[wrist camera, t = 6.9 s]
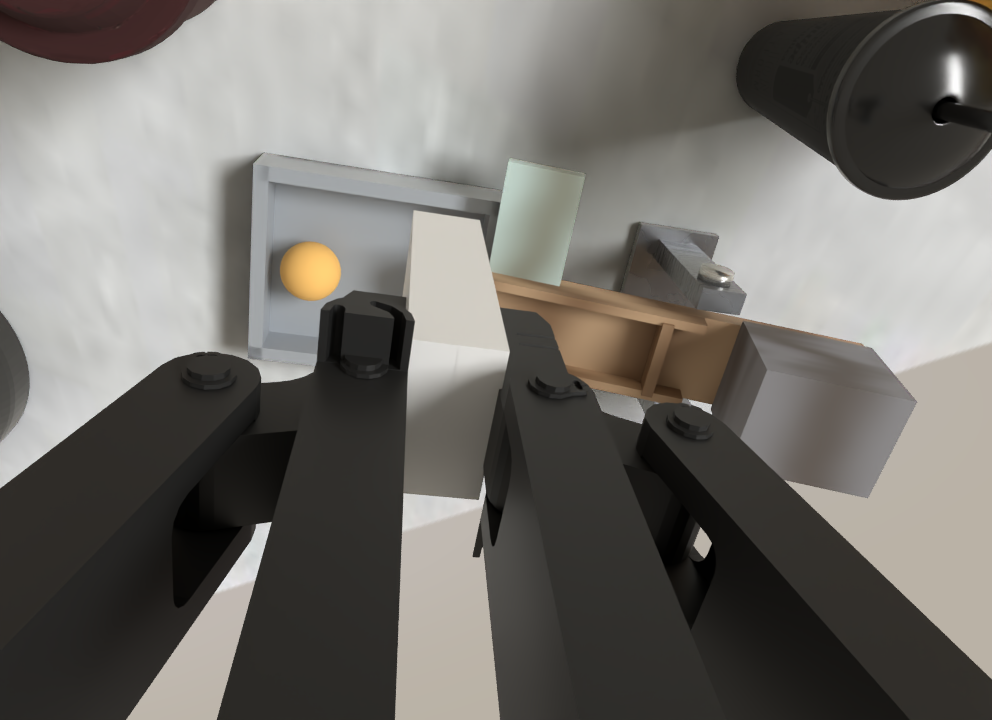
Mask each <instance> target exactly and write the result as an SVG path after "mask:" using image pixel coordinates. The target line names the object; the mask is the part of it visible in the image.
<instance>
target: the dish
mask: <svg viewBox="0 0 992 720" xmlns="http://www.w3.org/2000/svg"><path fill="white" fill-rule="evenodd" d="M502 193H503V192H502V190H497V189H490V188H484V187H478V186H471V185H465V184H459V183H452V182H446V181H440V180H433V179H427V178H421V177H414V176H408V175H402V174H395V173H389V172H383V171H377V170H370V169H364V168H358V167H351V166H345V165H339V164H332V163H326V162H320V161H313V160H307V159H301V158H294V157H288V156H282V155H275V154H269V153H263V154H262V155H261V156H260V157H259V158H258V159H257V160H256V161H255V163H254V164H253V191H252V227H251V263H250V299H249V335H248V358H250V359H259V360H268V361H277V362H285V363H294V364H303V365H312V366H315V365H316V362H317V350H318V337H319V324H320V311H321V308H322V307H323V306H324V305H325V304H326V303H327V302H330V301H332V300H335V299H337V298H343V297H344V296H346V295H347V294H349V293H350V292H352V291H353V290H356V291H364V292H371V293H379V294H387V295H394V296H403V288H404V280H405V273H406V265H407V257H408V250H409V242H410V234H411V227H412V219H413V211H414V210H416V211H422V212H429V213H436V214H442V215H449V216H456V217H462V218H469V219H475V220H480V223H481V228H482V232H483V236H484V241H485V245H486V250H487V254H488V258H489V263H490V258H491V253H492V247H493V242H494V236H495V231H496V226H497V220H498V215H499V209H500V204H501V198H502ZM308 241H311V242H318V243H321V244H323V245H325V246H327V247H328V248H329V249H331V250H332V251H333V252H334V254H335V255H336V257H337V258H338V260H339V263H340V267H341V277H340V281H339V284H338V286H337V287H336V289H335V290H334V291H333V292H332V293H331V294H330V295H329V296H327V297H325V298H323V299H321V300H316V301H306V300H302V299H299V298H297V297H295V296H294V295H292V294H291V293H290V292H289V291H288V290H287V289H286V288H285V286H284V284H283V282H282V280H281V276H280V265H281V261H282V258H283V256H284V255H285V253H286V252H287V251H288V250H289V249H290V248H291V247H293V246H294V245H296V244H298V243H301V242H308Z"/></svg>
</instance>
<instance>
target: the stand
mask: <svg viewBox="0 0 992 720" xmlns="http://www.w3.org/2000/svg"><path fill="white" fill-rule="evenodd" d="M718 239H719V236H718V235H716V234H713V233H707V232H700V231H694V230H688V229H681V228H675V227H668V226H662V225H656V224H649V223H643V222H639V225H638V229H637V233H636V236H635V240H634V243H633V247H632V251H631V254H630V258H629V262H628V265H627V269H626V273H625V276H624V280H623V283H622V287H621V291H620V293H625V294H630V295H634V296H639V297H644V298H648V299H653V300H658V301H663V302H667V303H672V304H677V305H681V306H686V307H691V308H696V309H697V310H705V311H712V312H719V313H727V314H734V315H740V312H741V309H742V306H743V304H744V301H745V298H746V295H747V294H746V293H745V292H744V291H743V290H742V289H741V288H740V287H739V286H738V285H737V284H736V283H735V282H734V281H733V278H734V275H735V273H734V272H733V271H732V270H730V269H728V268H726V267H723V266H720V265H717V264H715V263H714V262H713V261H712V257H713V254H714V251H715V248H716V245H717V242H718ZM637 399H638V401H639V403H640V405H641V407H642V409H643V411H644V413H646V410H647V409H648V408H650V407H651V406H652V405H654V404H659V403H658V402H654V401H649V400H644V399H640V398H637ZM682 403H685V404H689V406H691V404H690V402H689V400H688V399H685V398H683V401H682Z"/></svg>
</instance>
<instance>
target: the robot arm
mask: <svg viewBox="0 0 992 720" xmlns="http://www.w3.org/2000/svg"><path fill="white" fill-rule="evenodd" d="M28 395H29V371H28V365H27V361H26V357H25V354H24V351H23V348H22V346H21V344H20V341H19V339H18V337H17V336H16V334H15V332H14V330H13V329H12V327H11V325H10V324H9V322H8V321H7V320H6V318H5V317H4V315H3V314H2V313H1V312H0V442H1V441H2V440H3V439H4V438H5V437H6V436H7V435H8V434H9V432H10V431H11V430H12V429H13V428H14V427H15V425H16V424H17V423H18V421H19V419H20V418H21V416H22V414H23V412H24V410H25V407H26V404H27V400H28ZM483 477H485V485H486V496H485V501H484V505H483V510H482V515H481V519H480V524H479V529H478V533H477V538H476V543H475V547H474V552H473V557H480V553H481V549H482V547H483V549H484V559H485V570H486V580H487V589H488V600H489V609H490V620H491V630H492V639H493V640H492V641H493V651H494V661H495V671H496V680H497V691H498V701H499V711H500V720H992V679H991V678H990V677H989V676H988V675H987V674H986V673H984V672H983V671H982V670H981V669H980V668H979V667H978V666H977V665H976V664H975V663H974V662H973V661H972V660H971V659H970V658H969V657H968V656H967V655H966V654H965V653H964V652H963V651H961V650H960V649H959V648H958V647H957V646H956V645H955V644H954V643H953V642H952V641H951V640H950V639H949V638H948V637H947V636H946V635H945V634H944V633H943V632H942V631H941V630H940V629H939V628H938V627H937V626H935V625H934V624H933V623H932V622H931V621H930V620H929V619H928V618H927V617H926V616H925V615H924V614H923V613H922V612H921V611H920V610H919V609H918V608H917V607H916V606H915V605H914V604H912V603H911V602H910V601H909V600H908V599H907V598H906V597H905V596H904V595H903V594H902V593H901V592H900V591H899V590H898V589H897V588H896V587H895V586H894V585H893V584H892V583H891V582H890V581H888V580H887V579H886V578H885V577H884V576H883V575H882V574H881V573H880V572H879V571H878V570H877V569H876V568H875V567H874V566H873V565H872V564H871V563H870V562H869V561H868V560H867V559H866V558H864V557H863V556H862V555H861V554H860V553H859V552H858V551H857V550H856V549H855V548H854V547H853V546H852V545H851V544H850V543H849V542H848V541H847V540H846V539H845V538H843V536H841V535H840V534H839V533H838V532H837V531H836V530H835V529H834V528H833V527H832V526H831V525H830V524H829V523H828V522H827V521H826V520H825V519H824V518H823V517H822V516H821V515H820V514H819V513H817V512H816V511H815V510H814V509H813V508H812V507H811V506H810V505H809V504H808V503H807V502H806V501H805V500H804V499H803V498H802V497H801V496H800V495H799V494H798V493H797V492H796V491H794V490H793V489H792V488H791V487H790V486H789V485H788V484H787V483H786V482H785V481H784V480H783V479H782V478H781V477H780V476H779V475H778V474H777V473H776V472H775V471H774V470H773V469H772V468H770V467H769V466H768V465H767V464H766V463H765V462H764V461H763V460H762V459H761V458H760V457H759V456H758V455H757V454H756V453H755V452H754V451H753V450H752V449H751V448H750V447H749V446H748V445H746V444H745V443H744V442H743V441H742V440H741V439H740V438H739V437H738V436H737V435H736V434H735V433H734V432H733V431H732V430H731V429H730V428H729V427H728V426H727V425H726V424H724V423H723V422H722V421H720V420H719V419H717V418H716V417H715V416H713V415H711V414H709V413H707V412H705V411H703V410H702V409H701V408H699V407H696V406H693V405H691V406H689V404H685V403H668V402H665V403H659V404H654V405H652V406H651V407H650V408H648V409H647V410H646V413H645V417H644V420H643V423H642V424H639V423H636V422H633V421H629V420H626V419H622V418H619V417H616V416H613V415H610V414H607V413H604V412H602V411H601V409H600V406H599V404H598V402H597V399H596V397H595V394H594V392H593V391H592V389H591V388H590V387H589V385H588V384H587V383H585V382H584V381H582V380H581V379H579V378H578V377H576V376H574V375H571V374H569V373H568V372H567V369H566V366H565V363H564V361H563V358H562V355H561V352H560V350H559V347H558V344H557V341H556V340H555V336H554V333H553V330H552V328H551V325H550V324H549V323H548V322H547V321H546V320H544V319H543V318H542V317H541V316H540V315H539V314H538V313H536V312H531V311H523V310H516V309H508V308H501V307H500V306H499V302H498V298H497V293H496V289H495V285H494V280H493V276H492V271H491V267H490V263H489V258H488V254H487V250H486V245H485V241H484V236H483V232H482V228H481V223H480V220H475V219H469V218H462V217H456V216H449V215H442V214H436V213H429V212H422V211H416V210H414V211H413V219H412V227H411V234H410V242H409V250H408V257H407V265H406V273H405V280H404V288H403V296H394V295H387V294H379V293H371V292H364V291H356V290H353V291H352V292H350V293H349V294H347V295H346V296H344V297H343V298H337V299H335V300H332V301H330V302H327V303H326V304H325V305H324V306H323V307H322V308H321V311H320V324H319V337H318V350H317V362H316V365H315V369H314V372H313V373H311V374H309V375H307V376H305V377H302V378H298V379H295V380H290V381H282V382H271V383H261V376H260V373H259V370H258V368H257V367H256V366H254V365H253V364H252V363H250V362H249V361H248V360H245V359H242V358H239V357H236V356H233V355H227V354H221V353H219V352H207V353H205V352H197V353H193V354H190V355H185V356H181V357H177V358H174V359H172V360H170V361H168V362H166V363H165V364H163V365H161V366H160V367H158V368H157V369H156V370H155V371H153V372H152V373H151V374H149V375H148V376H147V377H145V378H144V379H143V380H141V381H140V382H139V383H138V384H136V385H135V386H134V387H132V388H131V389H130V390H128V391H127V392H126V393H125V394H123V395H122V396H121V397H119V398H118V399H117V400H115V401H114V402H113V403H111V404H110V405H109V406H108V407H106V408H105V409H104V410H102V411H101V412H100V413H98V414H97V415H96V416H94V417H93V418H92V419H91V420H89V421H88V422H87V423H85V424H84V425H83V426H81V427H80V428H79V429H77V430H76V431H75V432H74V433H72V434H71V435H70V436H68V437H67V438H66V439H64V440H63V441H62V442H60V443H59V444H58V445H57V446H55V447H54V448H53V449H51V450H50V451H49V452H47V453H46V454H45V455H44V456H42V457H41V458H40V459H38V460H37V461H36V462H34V463H33V464H32V465H30V466H29V467H28V468H27V469H25V470H24V471H23V472H21V473H20V474H19V475H17V476H16V477H15V478H13V479H12V480H11V481H10V482H8V483H7V484H6V485H4V486H3V487H2V488H0V720H126V719H127V717H128V716H129V715H130V713H131V712H132V710H133V709H134V707H135V706H136V705H137V703H138V702H139V700H140V699H141V697H142V696H143V695H144V693H145V692H146V690H147V689H148V687H149V686H150V685H151V683H152V682H153V680H154V679H155V677H156V676H157V674H158V673H159V672H160V670H161V669H162V667H163V666H164V664H165V663H166V662H167V660H168V659H169V657H170V656H171V654H172V653H173V652H174V650H175V649H176V647H177V645H178V644H179V643H180V642H181V640H182V639H183V637H184V636H185V634H186V633H187V631H188V630H189V628H190V627H191V626H192V624H193V623H194V621H195V620H196V618H197V617H198V616H199V614H200V613H201V611H202V610H203V608H204V607H205V605H206V604H207V603H208V601H209V600H210V598H211V597H212V596H213V594H214V593H215V591H216V590H217V588H218V587H219V586H220V584H221V583H222V581H223V580H224V578H225V577H226V575H227V574H228V573H229V571H230V570H231V568H232V567H233V565H234V564H235V563H236V561H237V560H238V558H239V557H240V555H241V554H242V552H243V551H244V550H245V548H246V547H247V545H248V544H249V542H250V541H251V539H252V537H253V534H254V531H255V529H256V524H260V523H267V522H272V523H271V527H270V531H269V534H268V538H267V541H266V545H265V549H264V552H263V556H262V559H261V563H260V567H259V570H258V574H257V577H256V581H255V584H254V588H253V592H252V596H251V599H250V602H249V606H248V610H247V613H246V617H245V621H244V624H243V628H242V631H241V635H240V638H239V642H238V646H237V649H236V653H235V657H234V660H233V663H232V667H231V671H230V675H229V678H228V682H227V685H226V689H225V692H224V696H223V699H222V703H221V707H220V710H219V714H218V717H217V720H395V700H396V673H397V647H398V620H399V593H400V568H401V541H402V540H401V539H402V515H403V493H408V494H419V495H430V496H442V497H453V498H464V499H476V500H479V496H480V491H481V487H482V482H483ZM700 527H701V528H702V529H703V530H704V532H705V533H706V534H707V536H708V537H709V539H710V540H711V542H712V545H711V547H710V550H709V552H708V554H707V556H706V557H705V559H704V558H703V557H702V556H701V555H700V554H699V553H698V551H697V550H696V549H695V547H694V546H693V545H694V542H695V539H696V537H697V534H698V532H699V529H700Z"/></svg>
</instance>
